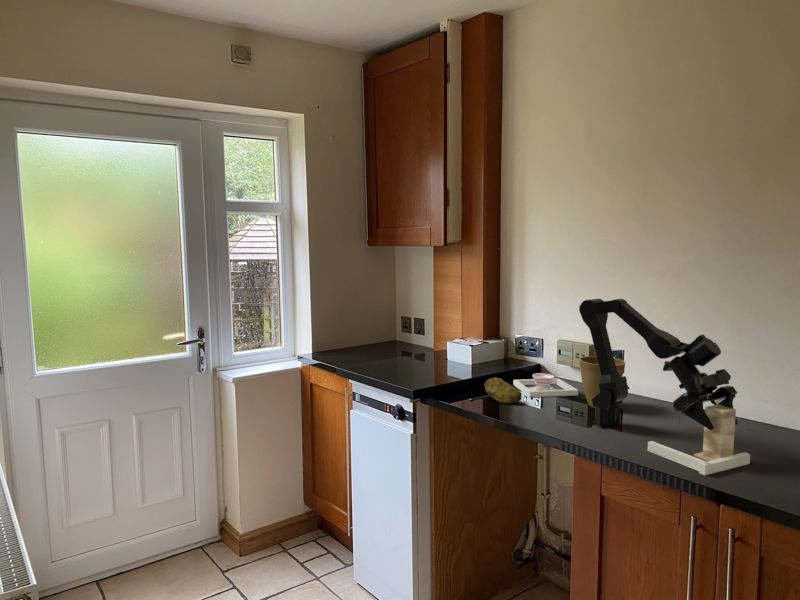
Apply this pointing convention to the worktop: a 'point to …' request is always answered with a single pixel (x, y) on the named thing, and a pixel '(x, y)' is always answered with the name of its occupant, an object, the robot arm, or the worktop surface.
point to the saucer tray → (546, 393)
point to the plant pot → (594, 375)
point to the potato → (502, 391)
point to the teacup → (542, 382)
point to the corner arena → (699, 464)
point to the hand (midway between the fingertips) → (724, 427)
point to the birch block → (719, 432)
